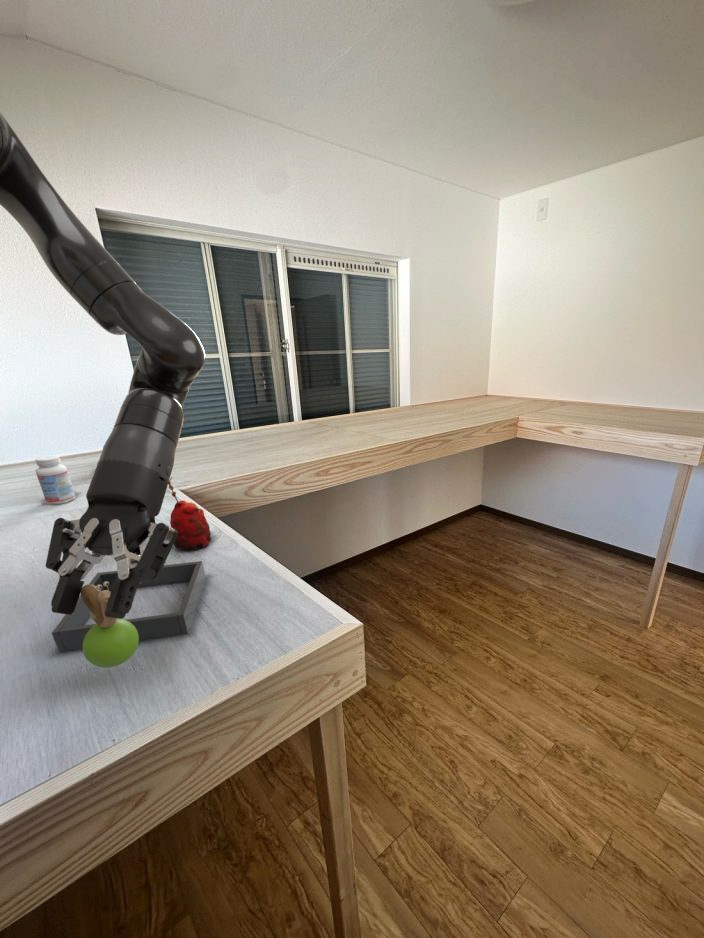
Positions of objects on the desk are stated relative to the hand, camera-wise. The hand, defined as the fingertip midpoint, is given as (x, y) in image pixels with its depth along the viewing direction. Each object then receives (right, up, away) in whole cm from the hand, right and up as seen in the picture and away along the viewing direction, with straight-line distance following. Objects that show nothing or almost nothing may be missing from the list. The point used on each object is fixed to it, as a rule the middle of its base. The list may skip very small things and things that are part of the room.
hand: (88, 614), depth 44 cm
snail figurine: (0, -7, +5) cm, 9 cm away
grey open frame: (-5, -4, +18) cm, 19 cm away
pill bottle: (-50, +14, +61) cm, 80 cm away
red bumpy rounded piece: (-7, +4, +38) cm, 39 cm away
